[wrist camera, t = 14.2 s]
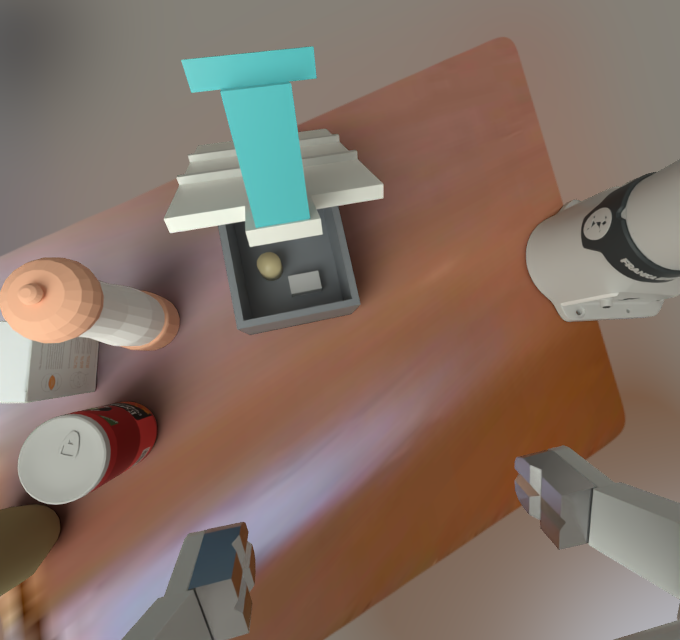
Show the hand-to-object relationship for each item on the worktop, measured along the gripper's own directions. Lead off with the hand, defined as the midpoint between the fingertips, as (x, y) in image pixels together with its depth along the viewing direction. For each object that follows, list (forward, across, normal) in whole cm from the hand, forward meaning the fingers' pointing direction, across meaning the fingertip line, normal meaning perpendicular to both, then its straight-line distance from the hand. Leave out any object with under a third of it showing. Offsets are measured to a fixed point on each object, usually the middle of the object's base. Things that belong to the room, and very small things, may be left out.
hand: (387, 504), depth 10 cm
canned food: (+32, +26, +13) cm, 43 cm away
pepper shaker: (+37, +22, 0) cm, 43 cm away
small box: (+35, +31, +3) cm, 47 cm away
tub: (+39, +3, -5) cm, 40 cm away
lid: (+24, +2, -13) cm, 27 cm away
